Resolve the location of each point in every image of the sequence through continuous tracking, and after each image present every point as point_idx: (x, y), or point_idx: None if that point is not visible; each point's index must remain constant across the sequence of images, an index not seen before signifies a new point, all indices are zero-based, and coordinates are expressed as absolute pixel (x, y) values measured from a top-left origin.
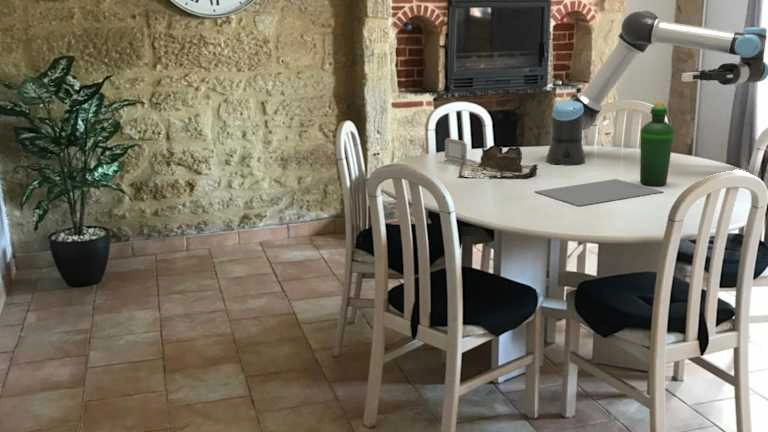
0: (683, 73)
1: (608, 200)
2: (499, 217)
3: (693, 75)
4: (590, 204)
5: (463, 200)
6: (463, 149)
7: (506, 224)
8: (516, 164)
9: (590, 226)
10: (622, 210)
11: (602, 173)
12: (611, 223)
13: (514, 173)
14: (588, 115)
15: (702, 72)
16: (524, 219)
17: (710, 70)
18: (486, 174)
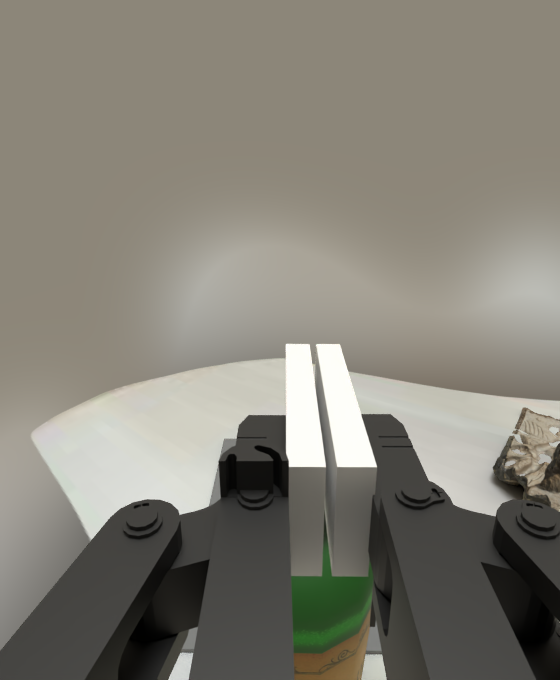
0: (323, 346)
1: (214, 485)
2: (250, 371)
3: (280, 421)
4: (220, 456)
5: (353, 375)
6: None
7: (219, 366)
8: (551, 461)
9: (135, 407)
10: (151, 471)
11: None
12: (119, 426)
13: (540, 475)
14: None
15: (235, 470)
16: (222, 381)
17: None
18: (532, 438)
